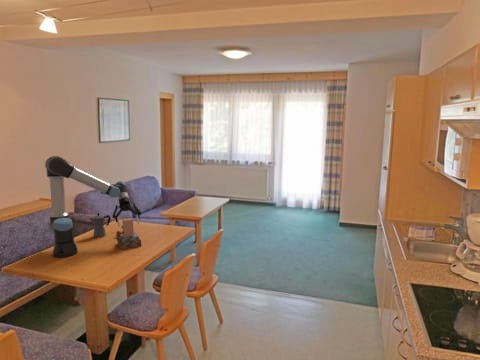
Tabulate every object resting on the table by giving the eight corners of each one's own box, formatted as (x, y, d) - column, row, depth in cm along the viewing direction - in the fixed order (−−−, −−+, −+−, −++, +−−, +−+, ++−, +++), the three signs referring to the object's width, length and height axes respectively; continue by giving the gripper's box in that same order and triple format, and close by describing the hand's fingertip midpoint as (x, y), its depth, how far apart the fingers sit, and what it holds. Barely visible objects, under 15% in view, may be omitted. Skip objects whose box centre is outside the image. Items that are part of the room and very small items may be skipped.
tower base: (121, 249, 252) (120, 239, 251) (117, 243, 264) (117, 234, 263) (141, 245, 258) (141, 236, 257) (137, 240, 270) (136, 231, 269)
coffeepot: (90, 238, 277) (89, 215, 274) (90, 235, 285) (89, 212, 283) (112, 235, 282) (110, 213, 280) (111, 232, 291) (109, 210, 288)
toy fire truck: (115, 237, 279) (115, 225, 278) (130, 233, 290) (130, 221, 288) (118, 238, 277) (117, 225, 276) (133, 233, 288) (132, 221, 286)
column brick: (125, 237, 256) (124, 220, 254) (123, 234, 261) (122, 218, 259) (133, 235, 259) (132, 219, 257) (132, 233, 264) (131, 217, 262)
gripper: (140, 201, 278) (145, 224, 267) (105, 204, 267) (110, 229, 256) (141, 195, 273) (147, 219, 262) (106, 198, 261) (111, 223, 250)
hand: (128, 224), depth 259 cm, fingers open, 13 cm apart
